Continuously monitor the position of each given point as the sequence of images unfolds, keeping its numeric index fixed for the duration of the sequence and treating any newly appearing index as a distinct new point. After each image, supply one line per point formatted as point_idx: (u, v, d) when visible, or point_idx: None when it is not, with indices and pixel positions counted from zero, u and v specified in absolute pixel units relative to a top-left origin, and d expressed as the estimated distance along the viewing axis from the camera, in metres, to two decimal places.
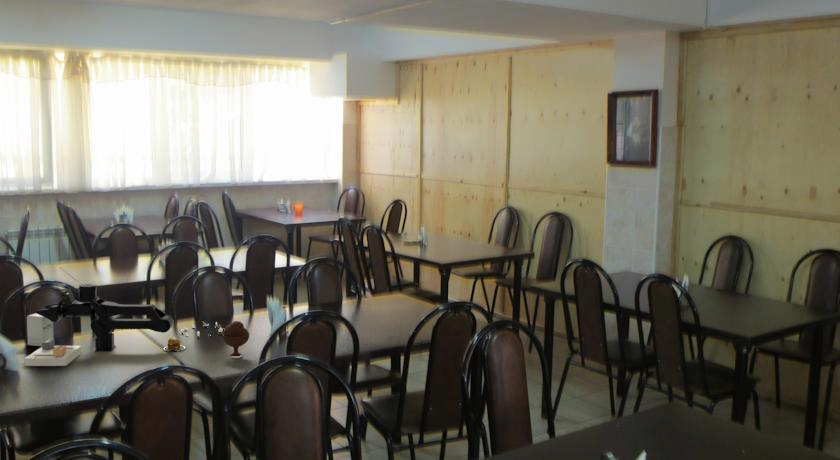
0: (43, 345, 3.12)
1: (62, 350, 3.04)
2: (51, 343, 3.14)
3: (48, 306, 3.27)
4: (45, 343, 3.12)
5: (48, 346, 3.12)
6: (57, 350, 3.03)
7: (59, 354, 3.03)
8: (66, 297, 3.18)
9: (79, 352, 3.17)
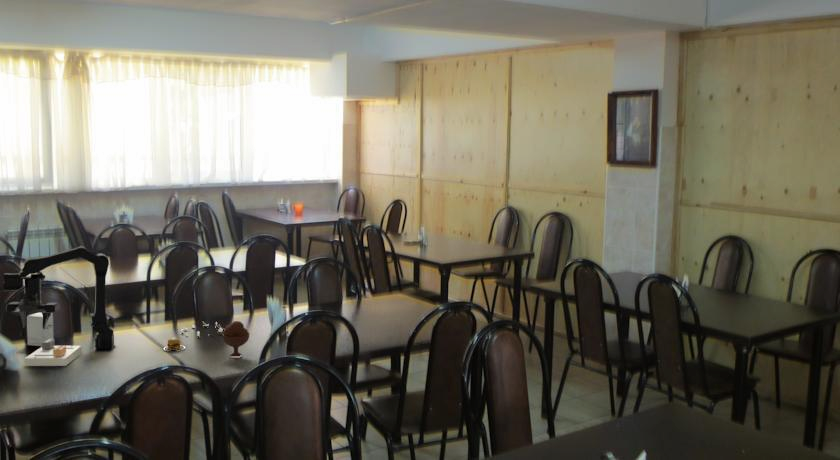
0: (43, 345, 3.12)
1: (62, 350, 3.04)
2: (51, 343, 3.14)
3: (22, 324, 3.13)
4: (45, 343, 3.12)
5: (48, 346, 3.12)
6: (57, 350, 3.03)
7: (59, 354, 3.03)
8: (37, 302, 3.06)
9: (79, 352, 3.17)
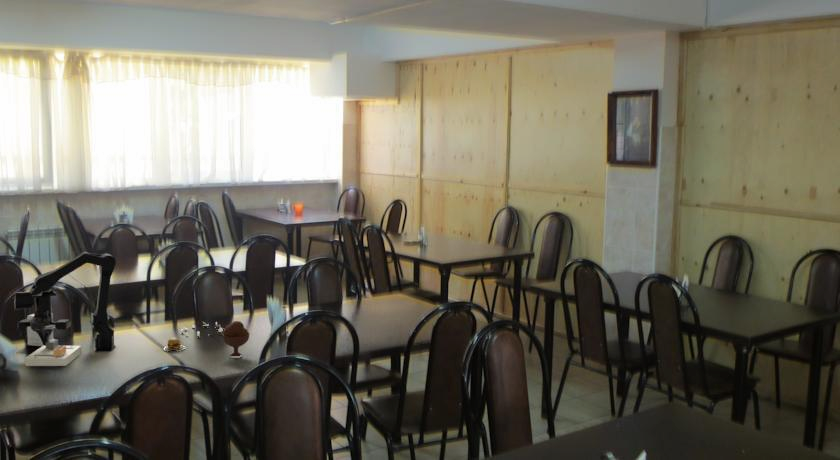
0: (47, 345, 3.12)
1: (62, 350, 3.04)
2: (55, 343, 3.14)
3: None
4: (49, 343, 3.12)
5: (52, 346, 3.12)
6: (57, 350, 3.03)
7: (59, 354, 3.03)
8: (49, 319, 3.08)
9: (79, 352, 3.17)
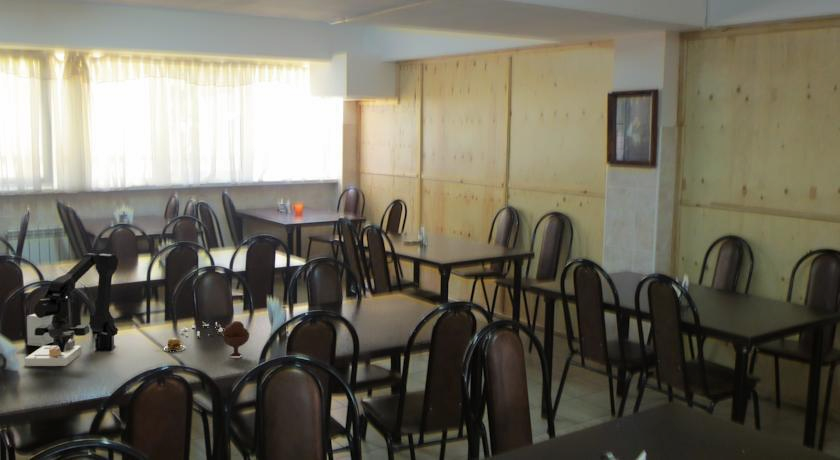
0: None
1: (58, 350, 3.04)
2: (71, 343, 3.15)
3: None
4: None
5: (68, 346, 3.13)
6: (53, 350, 3.03)
7: (55, 354, 3.03)
8: (67, 325, 2.98)
9: (79, 352, 3.17)
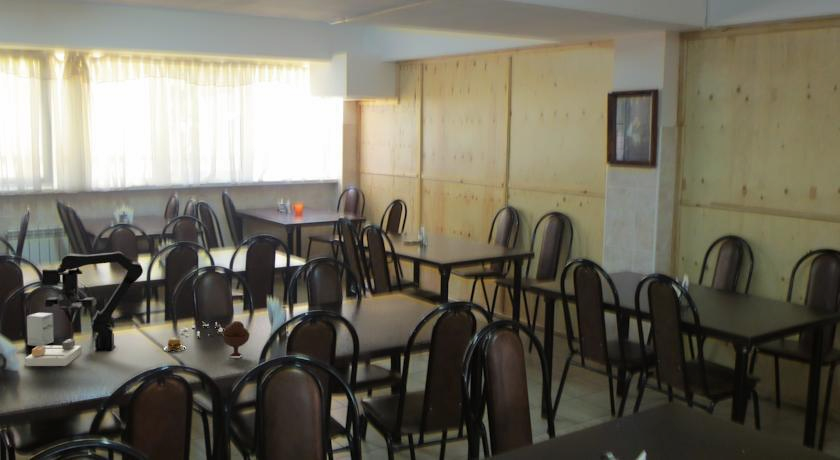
0: (63, 345, 3.13)
1: (41, 350, 3.04)
2: (71, 343, 3.15)
3: (70, 319, 3.20)
4: (65, 343, 3.13)
5: (68, 346, 3.13)
6: (36, 350, 3.02)
7: (38, 354, 3.02)
8: (76, 297, 3.13)
9: (79, 352, 3.17)
